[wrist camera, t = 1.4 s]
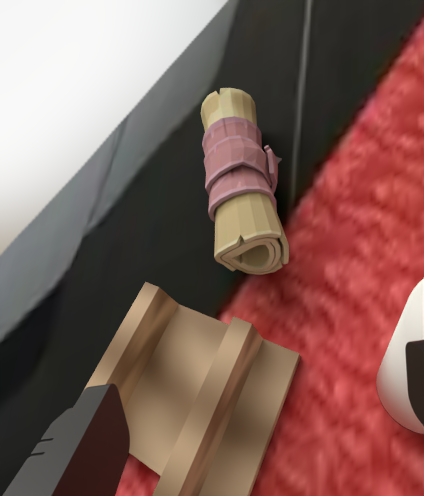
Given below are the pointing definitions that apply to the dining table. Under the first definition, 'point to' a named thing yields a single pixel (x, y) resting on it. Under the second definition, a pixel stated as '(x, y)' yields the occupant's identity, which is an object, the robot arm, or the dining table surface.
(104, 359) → the stand
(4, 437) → the dining table surface
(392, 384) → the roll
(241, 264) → the scroll
